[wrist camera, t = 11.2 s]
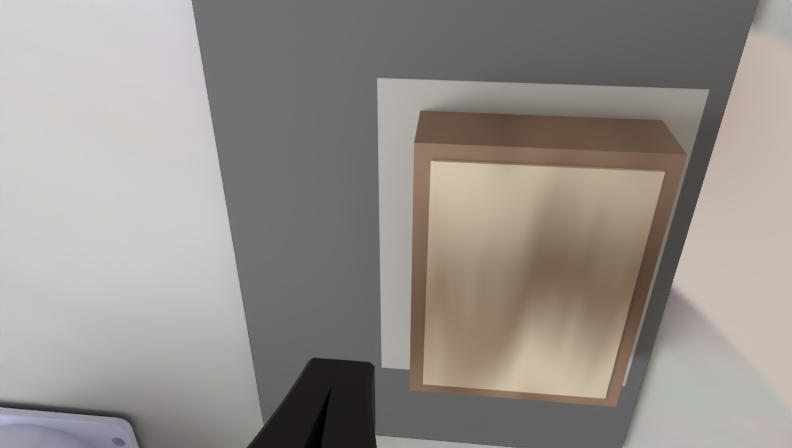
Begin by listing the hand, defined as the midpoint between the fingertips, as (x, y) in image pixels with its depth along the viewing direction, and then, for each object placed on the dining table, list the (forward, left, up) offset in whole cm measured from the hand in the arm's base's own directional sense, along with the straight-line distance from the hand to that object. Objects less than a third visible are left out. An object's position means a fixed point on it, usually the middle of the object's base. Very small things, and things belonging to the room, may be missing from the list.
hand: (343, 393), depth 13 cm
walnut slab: (0, -1, -5) cm, 5 cm away
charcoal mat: (0, -2, -6) cm, 6 cm away
